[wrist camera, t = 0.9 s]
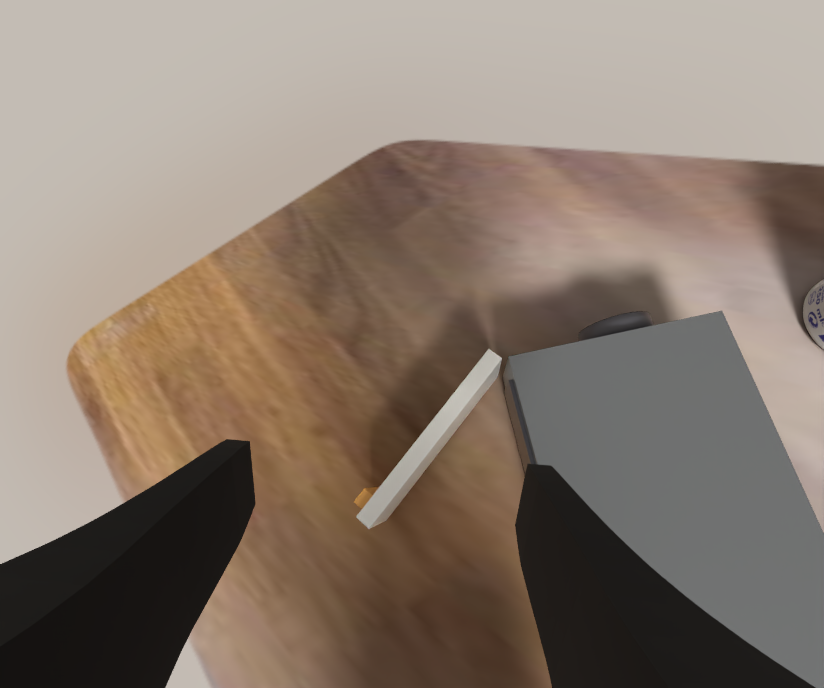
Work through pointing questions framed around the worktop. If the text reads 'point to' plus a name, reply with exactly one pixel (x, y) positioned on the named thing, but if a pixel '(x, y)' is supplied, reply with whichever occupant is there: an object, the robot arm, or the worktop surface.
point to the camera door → (428, 444)
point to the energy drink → (815, 313)
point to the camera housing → (682, 471)
